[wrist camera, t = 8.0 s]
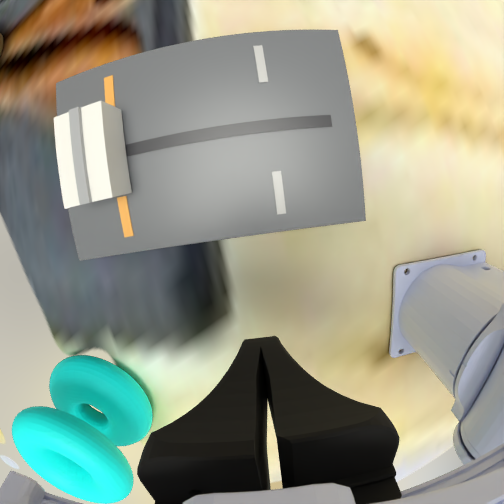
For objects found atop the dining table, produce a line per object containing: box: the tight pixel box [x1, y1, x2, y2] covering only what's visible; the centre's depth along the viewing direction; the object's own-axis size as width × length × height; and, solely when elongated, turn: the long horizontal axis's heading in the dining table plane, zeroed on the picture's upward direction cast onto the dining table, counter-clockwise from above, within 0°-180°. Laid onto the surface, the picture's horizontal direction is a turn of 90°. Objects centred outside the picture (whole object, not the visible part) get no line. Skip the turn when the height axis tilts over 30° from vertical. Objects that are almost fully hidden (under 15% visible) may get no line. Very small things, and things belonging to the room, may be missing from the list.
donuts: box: [12, 355, 153, 504], centre depth 19 cm, size 10×10×10 cm
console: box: [56, 30, 366, 261], centre depth 17 cm, size 18×12×3 cm, turn 98°
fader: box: [54, 101, 132, 209], centre depth 14 cm, size 3×5×3 cm, turn 8°
